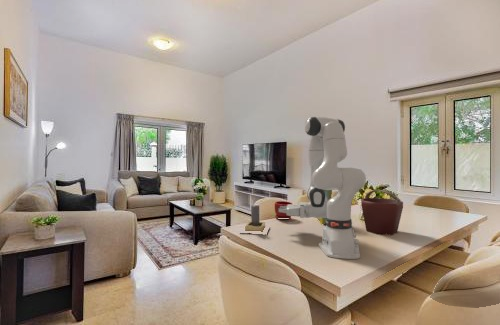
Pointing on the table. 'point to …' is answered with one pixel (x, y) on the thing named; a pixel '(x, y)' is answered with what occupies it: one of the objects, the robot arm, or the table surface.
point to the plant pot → (277, 207)
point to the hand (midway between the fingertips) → (279, 209)
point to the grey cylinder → (255, 215)
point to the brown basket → (382, 213)
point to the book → (328, 195)
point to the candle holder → (255, 227)
